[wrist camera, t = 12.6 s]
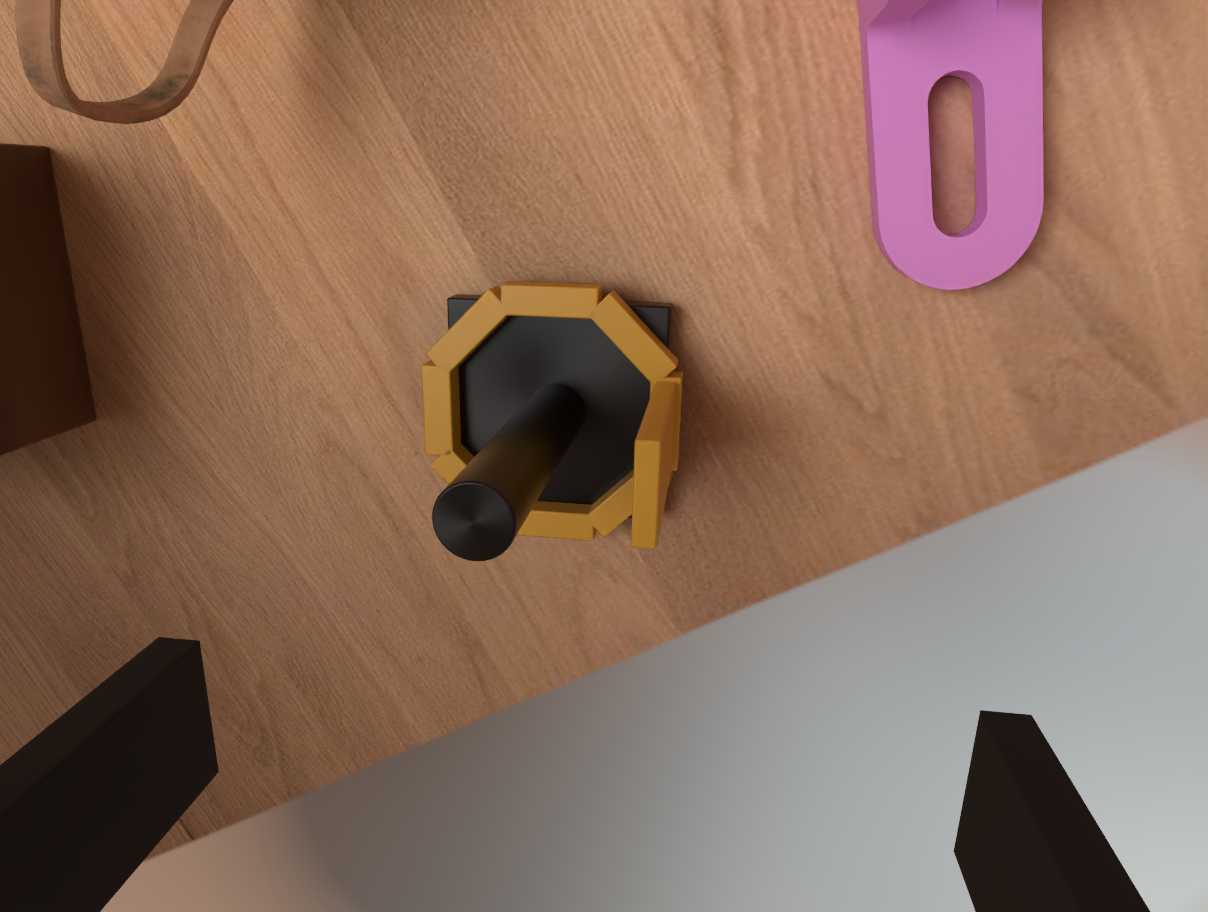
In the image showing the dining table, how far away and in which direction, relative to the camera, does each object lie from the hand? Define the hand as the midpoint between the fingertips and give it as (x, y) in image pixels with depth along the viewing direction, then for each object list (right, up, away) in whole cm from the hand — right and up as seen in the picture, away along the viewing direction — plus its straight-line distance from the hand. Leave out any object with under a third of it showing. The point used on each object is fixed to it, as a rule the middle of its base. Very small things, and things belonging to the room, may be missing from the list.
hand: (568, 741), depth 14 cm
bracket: (+13, +18, +16) cm, 27 cm away
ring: (-1, +7, +20) cm, 21 cm away
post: (-1, +7, +21) cm, 23 cm away
